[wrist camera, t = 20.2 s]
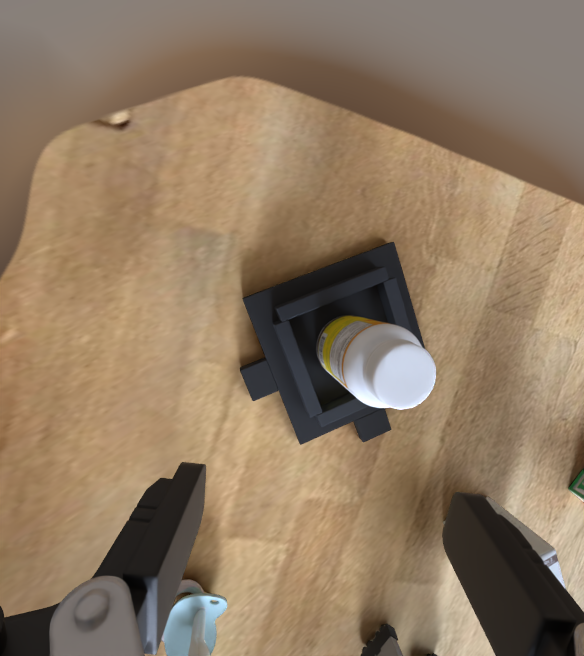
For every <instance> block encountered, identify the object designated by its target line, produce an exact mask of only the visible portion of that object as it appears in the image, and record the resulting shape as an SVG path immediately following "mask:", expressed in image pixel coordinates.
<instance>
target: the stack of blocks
mask: <svg viewBox="0 0 584 656" xmlns="http://www.w3.org/2000/svg"><path fill="white" fill-rule="evenodd" d="M568 489H569V491H571V492H572V493H573V494H574V495H575V496H577V497H578V498H579V499H580V500H581V501H583V503H584V469H583V470H582V471H581V473H580V474H579V475H578V476H577V478H576V479H575V480H574V482H573V483H572V484H571V486H570V487H569V488H568Z"/></svg>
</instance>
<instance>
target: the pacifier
mask: <svg viewBox="0 0 584 656" xmlns="http://www.w3.org/2000/svg"><path fill="white" fill-rule="evenodd" d="M183 592H191V593H193V594H192V595H188V596H185V597H183V598H181V599H180V600H178V601H177V602H176V603H175V605H174V606H173V607H172V609H171V612H170V615H169V618H168V621H167V624H166V627H165V630H164V633H163V636H162V639H161V640H162V641H163V642H164V643H165V650H166V654H167V656H210V655H211V653H212V651H213V649H214V646H215V642H216V625H215V619H216V618H218V617H219V616H220V615H221V614H223V612H224V611H225V610H226V608H227V600H226V598H225V597H223V596H220V595H216V594H209V593H206V592H204V591H203V589H202V587H201V585H200V584H198V583H197V582H196V581H193V580H190V579H188V580H182V581H181V583H180V586H179V589H178V592H177V595H178V594H180V593H183ZM177 595H176V596H177ZM211 600H217V602H212V601H211ZM204 640H205V642H206V643H205V642H204Z"/></svg>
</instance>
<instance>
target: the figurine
mask: <svg viewBox="0 0 584 656" xmlns="http://www.w3.org/2000/svg"><path fill="white" fill-rule="evenodd" d="M397 640H398V638H397V635H396V632H395V629H394V628H393V627H391V626H390V625H388V624H386V625H385V626H384V625H382V626H381V627H380V632H379V631H377V632H376V633H375V638H374V639H373V641H368V643H367V647H363V649H362V654H361V655H360V656H403V655H402V652H401V650H400V647H399V645H398V642H397ZM427 656H437V655H435V654H434V653H433V654H432V655H430V654H427Z"/></svg>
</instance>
